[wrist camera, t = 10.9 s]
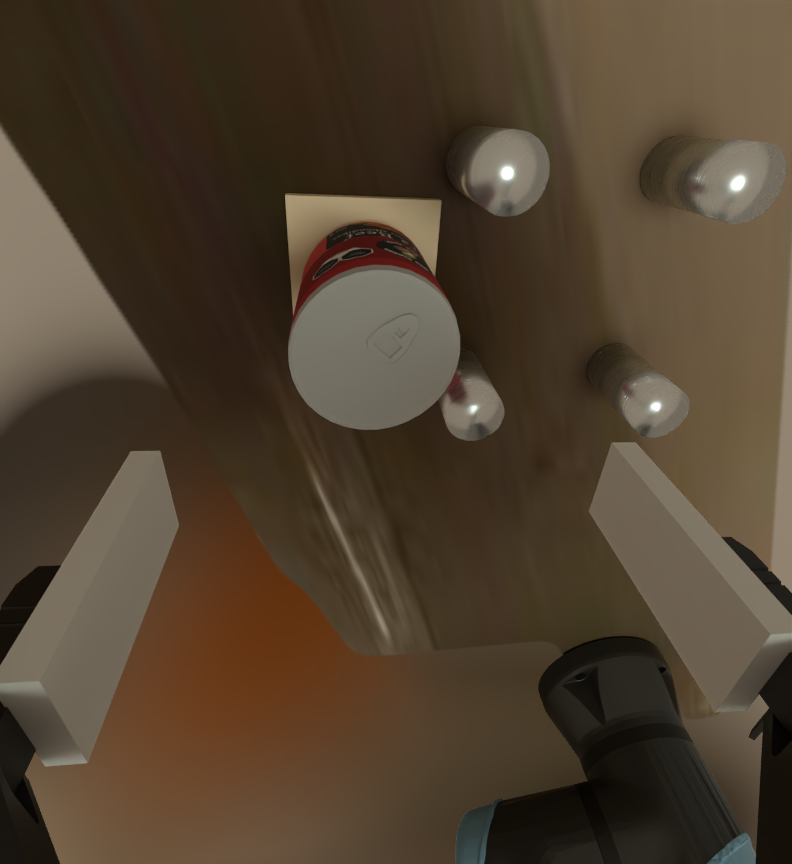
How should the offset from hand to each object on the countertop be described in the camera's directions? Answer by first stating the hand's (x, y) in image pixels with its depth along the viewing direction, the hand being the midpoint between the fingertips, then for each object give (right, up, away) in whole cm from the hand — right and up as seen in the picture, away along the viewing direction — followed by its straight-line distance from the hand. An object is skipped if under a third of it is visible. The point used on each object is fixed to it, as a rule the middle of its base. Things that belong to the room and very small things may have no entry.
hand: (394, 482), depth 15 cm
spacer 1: (+5, +17, +14) cm, 23 cm away
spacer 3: (+16, +6, +22) cm, 28 cm away
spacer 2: (+4, +6, +21) cm, 22 cm away
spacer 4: (+17, +17, +15) cm, 29 cm away
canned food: (-2, +11, +17) cm, 20 cm away
